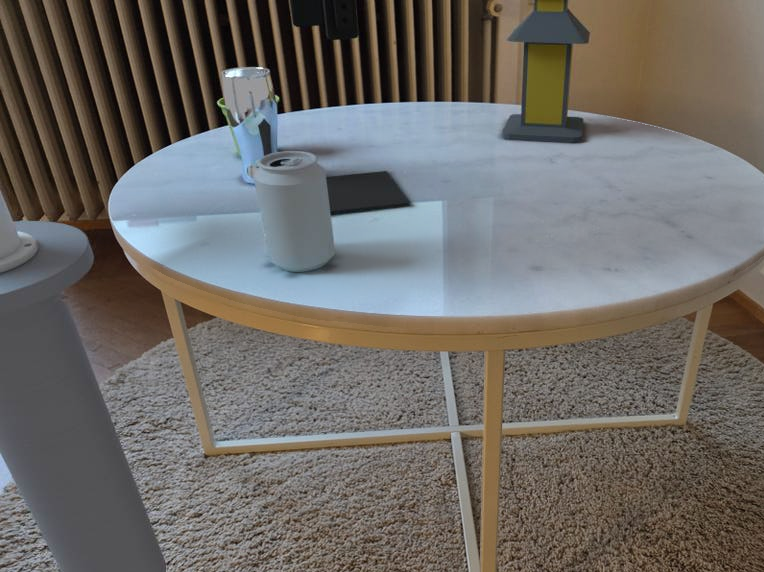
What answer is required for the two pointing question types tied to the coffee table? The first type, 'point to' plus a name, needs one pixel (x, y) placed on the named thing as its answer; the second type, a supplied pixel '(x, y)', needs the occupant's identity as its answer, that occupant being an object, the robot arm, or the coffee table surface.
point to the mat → (363, 192)
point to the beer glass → (251, 114)
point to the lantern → (547, 74)
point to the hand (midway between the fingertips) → (324, 32)
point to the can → (295, 210)
